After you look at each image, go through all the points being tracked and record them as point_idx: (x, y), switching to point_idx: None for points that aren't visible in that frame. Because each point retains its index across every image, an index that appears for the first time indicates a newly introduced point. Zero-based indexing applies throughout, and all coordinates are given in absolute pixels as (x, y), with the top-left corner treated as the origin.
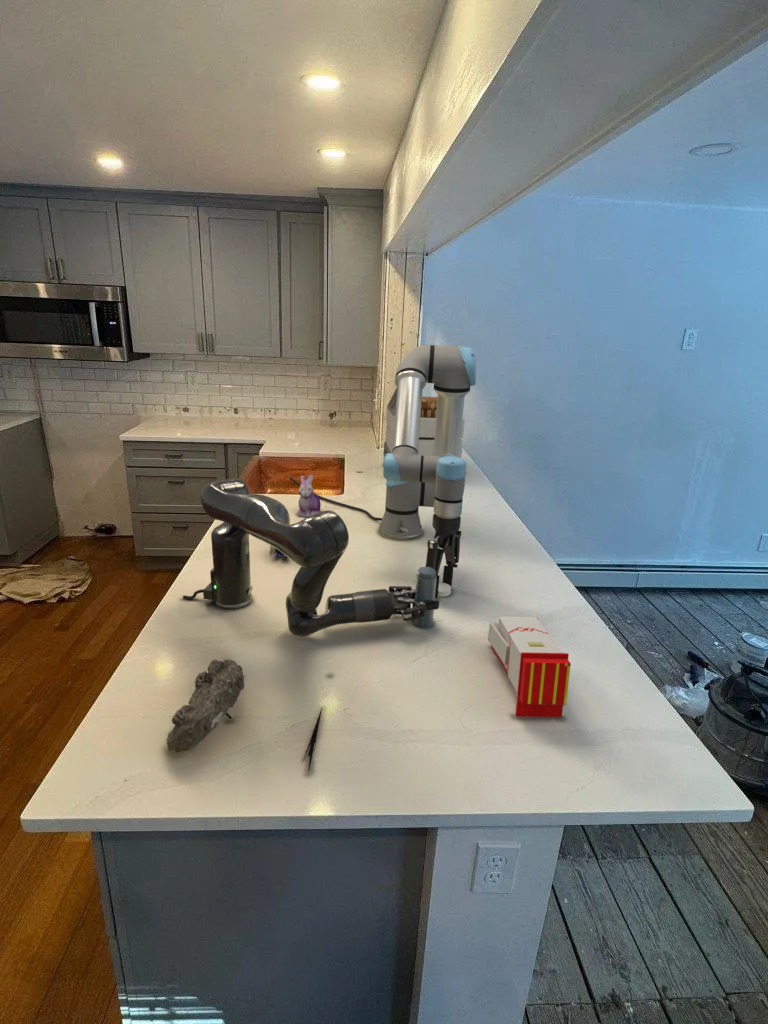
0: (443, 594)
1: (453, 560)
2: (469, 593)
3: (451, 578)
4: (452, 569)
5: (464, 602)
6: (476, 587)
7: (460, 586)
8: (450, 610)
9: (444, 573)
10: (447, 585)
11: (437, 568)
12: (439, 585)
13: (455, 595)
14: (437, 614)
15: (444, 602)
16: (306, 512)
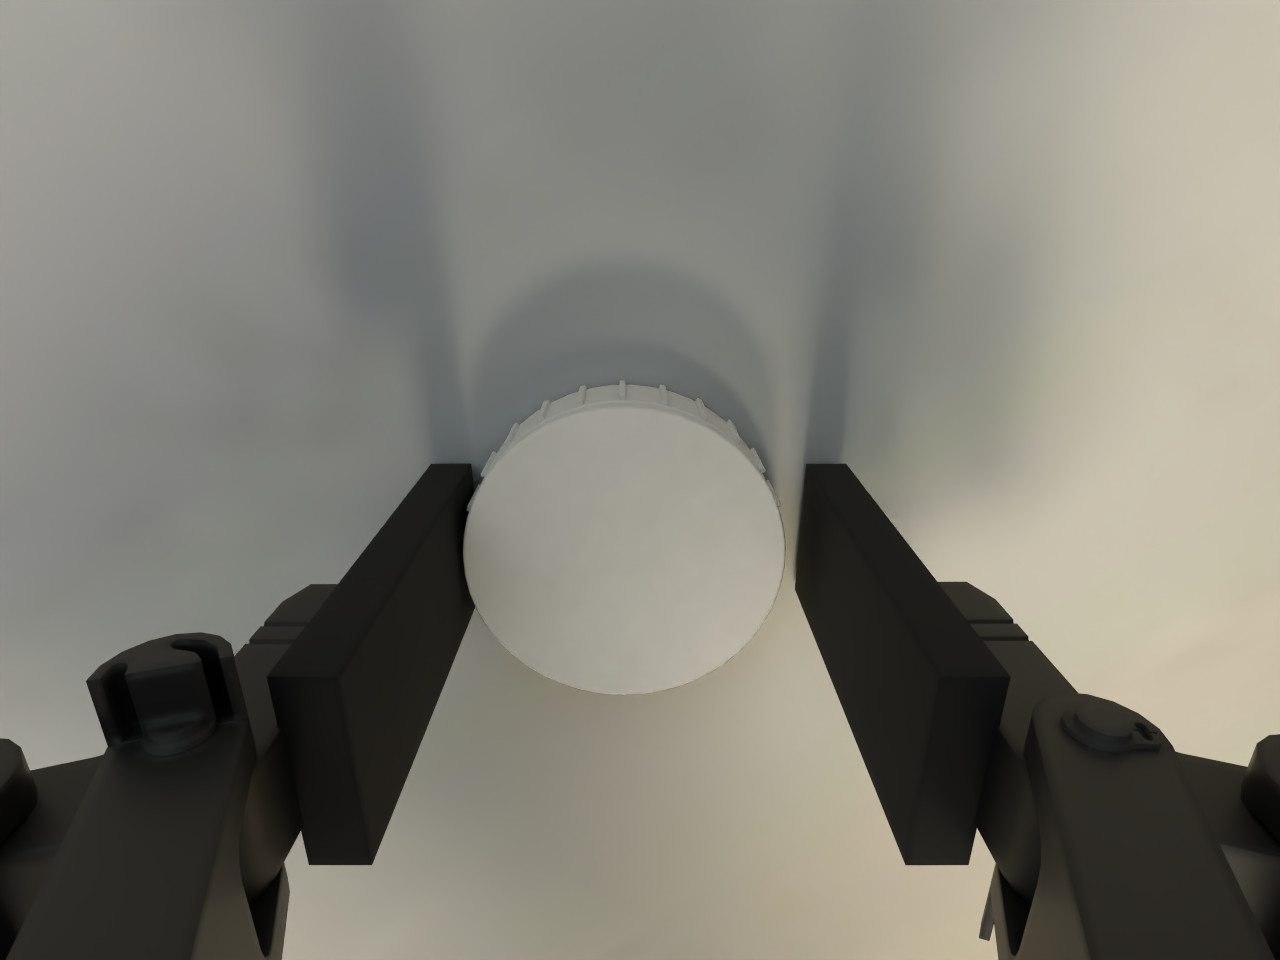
0: (729, 429)
1: (149, 881)
2: (316, 165)
3: (405, 546)
4: (321, 661)
5: (652, 48)
6: (37, 192)
7: (247, 410)
8: (1047, 83)
9: (421, 715)
10: (508, 516)
11: (1224, 900)
12: (602, 600)
13: (553, 306)
14: (1272, 177)
15: (864, 309)
16: None
